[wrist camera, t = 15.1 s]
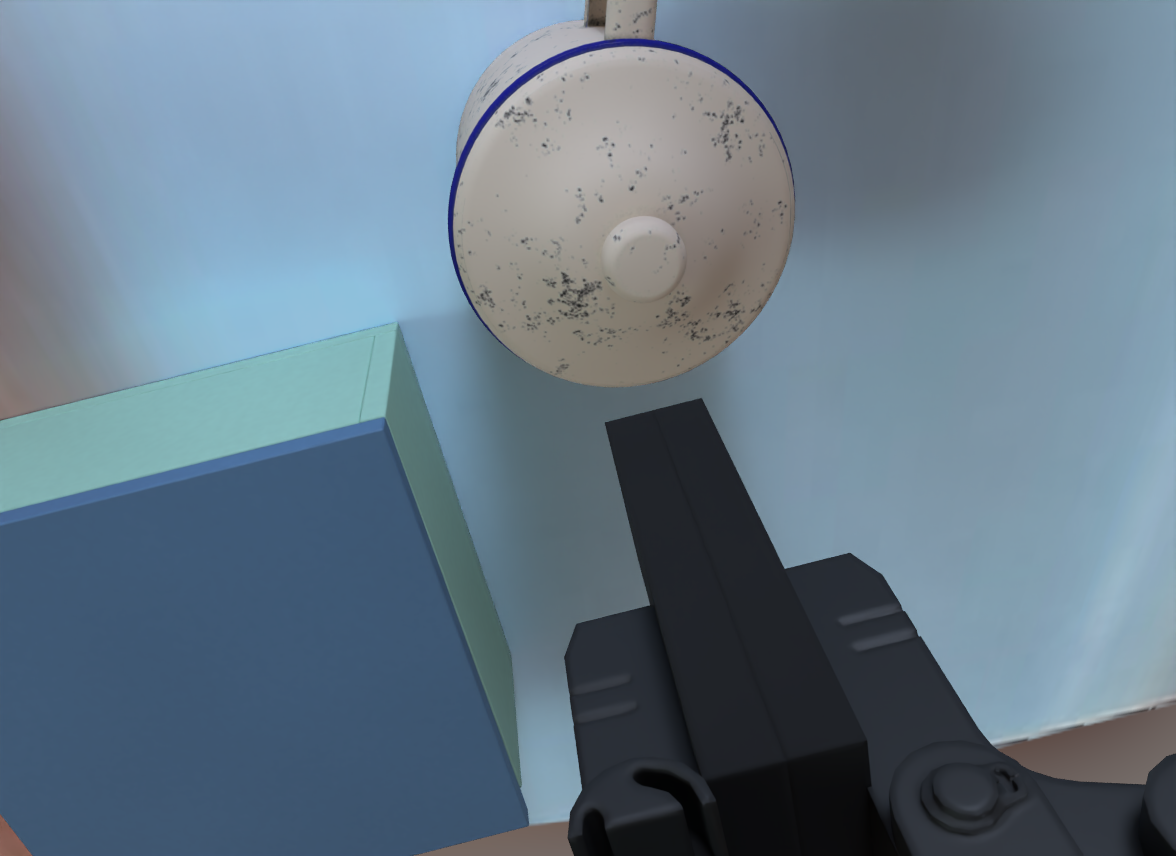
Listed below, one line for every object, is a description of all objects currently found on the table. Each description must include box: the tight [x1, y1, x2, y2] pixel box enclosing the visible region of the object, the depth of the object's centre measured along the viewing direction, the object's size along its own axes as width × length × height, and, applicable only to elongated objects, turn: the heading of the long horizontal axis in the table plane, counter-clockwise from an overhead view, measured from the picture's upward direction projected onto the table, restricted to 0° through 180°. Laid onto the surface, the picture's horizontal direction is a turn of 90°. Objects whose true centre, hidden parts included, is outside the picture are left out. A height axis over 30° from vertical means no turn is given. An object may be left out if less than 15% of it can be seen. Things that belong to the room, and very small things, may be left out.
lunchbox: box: [0, 322, 522, 787], centre depth 34 cm, size 17×17×7 cm
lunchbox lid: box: [0, 417, 529, 856], centre depth 31 cm, size 17×17×1 cm
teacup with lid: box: [448, 0, 795, 387], centre depth 26 cm, size 12×9×12 cm
